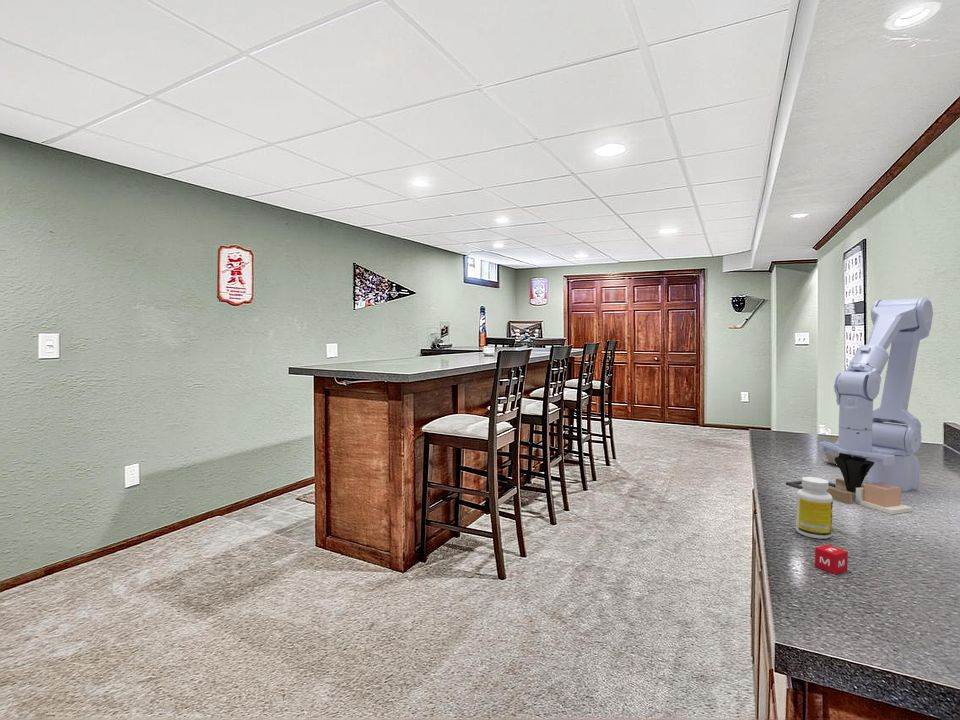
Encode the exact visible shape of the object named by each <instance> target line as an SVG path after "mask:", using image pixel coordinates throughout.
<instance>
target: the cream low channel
mask: <svg viewBox="0 0 960 720" xmlns="http://www.w3.org/2000/svg"><path fill="white" fill-rule="evenodd" d="M864 490H865V487H859V488H856V494H855V504H857V505H860V506H863V507H866V508H870V509H873V510H877V511H878V512H879V511H880V512H883V513H886V514H889V515H898V514H903V513H904V514H905V513H911V512H913V507H911V506H909V505H906V504H901V505H897V506H890V507H882V506H879V505H876V504H872V503H869V502H866V501H864Z"/></svg>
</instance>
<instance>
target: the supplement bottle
mask: <svg viewBox="0 0 960 720" xmlns="http://www.w3.org/2000/svg"><path fill="white" fill-rule="evenodd" d="M801 481H802V484H801V486H802V487H803V489H798V491H797V492H796V505H795V506H796V507H795V509H796V510H795V531H796V532H797V533H798V534H800V535H803V536H805V537H807V538H812V539H818V540H819V539H822V540H823V539H826V540H827V539H830V538H831V537H832V534H833V532H832V531H833V529H832V527H833V501H834V500H833V498H832V496H831V495H830V494H829V493H827V490H828V488H829V487H830V486H829V481H828V480H827V479H823V478H820V477H813V476H804V477H802V478H801Z"/></svg>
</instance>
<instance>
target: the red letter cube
mask: <svg viewBox="0 0 960 720" xmlns="http://www.w3.org/2000/svg"><path fill="white" fill-rule="evenodd" d="M814 552H815V553H814V567H816V568H818V569H821V570H823V571H825V572H828V573H830V574H833V575H838V574H841V573H845V572H848V563H849V562H848V561H849V558H848V557H849V552H848V551H847V550H844V549H841V548H838V547H836V546H833V545H830V544H824V545H820V546H816V547H815V548H814Z"/></svg>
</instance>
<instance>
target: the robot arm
mask: <svg viewBox="0 0 960 720" xmlns="http://www.w3.org/2000/svg"><path fill="white" fill-rule="evenodd" d="M933 317H934V309H933V305H932V302H931V300H929V298H928V297H925V296H924V297H918V298H917V297H916V298H899V299H897V298H896V299H877V300H875V302H873V304H872V306H871V309H870V319H871V321H872V325H873V327H872V329H871V332H870V335H869V337H868V340H867V342H866V344H863V345H860V346H859V347H858V348H857V349H856V351H855V354H854V355H853V356H852V359H851V361H850V362H849V365H848V367H847V368H846V370H843V371H842V372H840V373H838V374H837V375H836V377H835V380H834V384H833V389H834V393H835V396H836V405H838V406H839V412H838V413H839V414H838V415H839V416H838V437H837V439H838V443H835V442H831V441H818V451H820V452H825V451H827V452H832V453H836V454H839V456H838V457H835V462H836V463H837V465H836V466H838V468H839V471H841V475H842V479H844V481H845V485H846V489H847V491H849V493H851V492H853V493H852V494H854V492H856V488H859V487H861V486H862V484H863V483H864V480H865V478H866V476H867V474H868V483H867V484H870V483H878V482H881V483H885V484H889V485H893V486H897V487H900V488H901V493H903V492H908V491H911V490H917V491H921V492H924V490H923V489H920V471H921V470H920V468H921V464H920V461H919V460H918V458H917V456H916V455H915V453H916V452H918V451H919V449H920V448H921V444H922V432H921V431H922V424H921V422H920V420H919V418H917V417H916V416H914V415H913V414H911V413H910V412H909V411H908V409H909V408H908V407H909V403H910V396H911V391H912V385H913V378H914V374H915V368H916V362H917V357H918V356H917V355H918V352H919V345H920V343H921V340H924V339H925V338H927V337H929V336H930V332H931V330H932V329H931V327H932V324H933V323H932V322H933ZM889 347H890V349H889V353H888V351H887V350H888V348H889ZM886 365H887V367H886ZM885 367H886V371H885V372H886V373H885V378H884V384H883V388H882V389H883V390H882V395H881V399H880V400H881V401H880V406H879V407H878V408H875V409H874V400H875V399H876V398H877V397H878V395H879V394H880V390H881V382H882V376H881V374H882V373H883V370H884V368H885ZM847 491H846V492H847Z"/></svg>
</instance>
